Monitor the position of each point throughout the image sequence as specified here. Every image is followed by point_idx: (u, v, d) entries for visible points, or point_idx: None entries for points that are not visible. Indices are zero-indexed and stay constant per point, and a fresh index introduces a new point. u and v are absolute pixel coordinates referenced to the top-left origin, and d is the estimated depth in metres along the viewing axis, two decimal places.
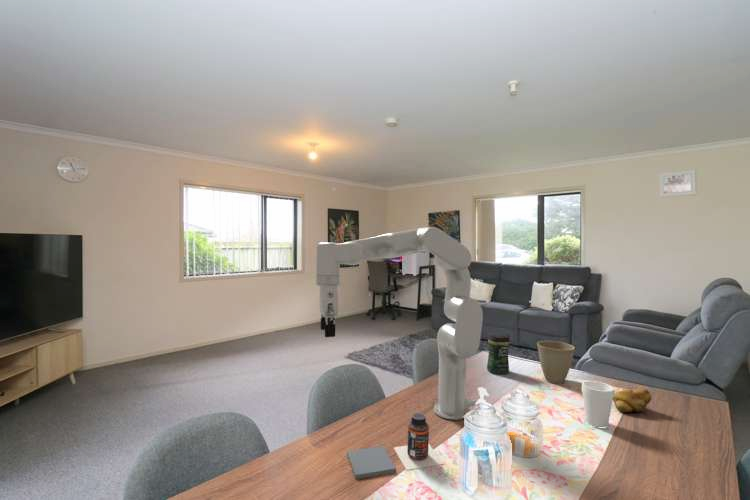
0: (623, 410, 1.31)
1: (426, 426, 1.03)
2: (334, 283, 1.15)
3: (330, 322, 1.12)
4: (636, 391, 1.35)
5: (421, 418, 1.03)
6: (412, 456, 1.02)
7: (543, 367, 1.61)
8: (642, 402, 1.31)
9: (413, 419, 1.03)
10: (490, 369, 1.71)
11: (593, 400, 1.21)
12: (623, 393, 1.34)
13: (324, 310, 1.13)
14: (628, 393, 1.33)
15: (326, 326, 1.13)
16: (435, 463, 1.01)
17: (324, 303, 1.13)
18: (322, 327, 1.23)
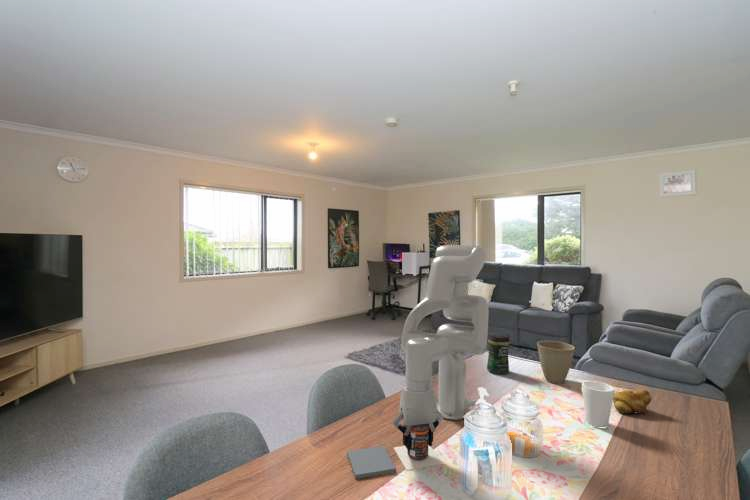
0: (622, 410, 1.31)
1: (426, 426, 1.03)
2: None
3: None
4: (636, 392, 1.34)
5: None
6: (412, 456, 1.02)
7: (543, 367, 1.61)
8: (641, 403, 1.31)
9: None
10: (490, 369, 1.71)
11: (593, 400, 1.21)
12: (622, 393, 1.33)
13: (436, 414, 1.04)
14: (627, 394, 1.33)
15: None
16: (435, 463, 1.01)
17: (436, 406, 1.04)
18: None
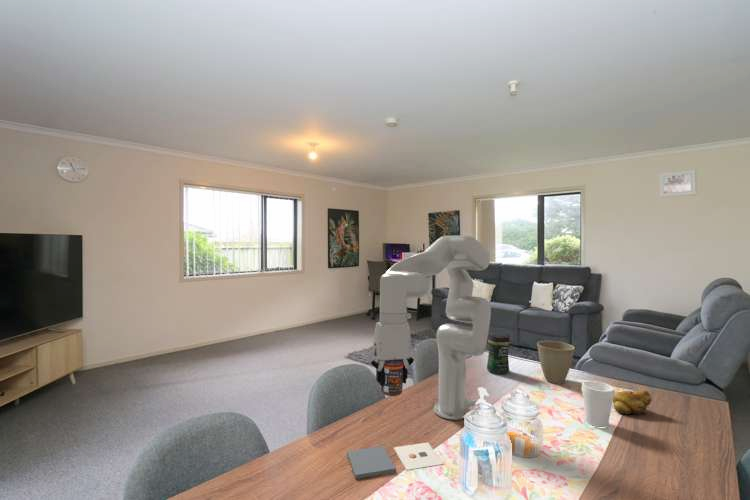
0: (621, 411, 1.30)
1: (400, 362, 1.00)
2: None
3: None
4: (636, 392, 1.33)
5: None
6: (385, 392, 0.99)
7: (543, 367, 1.61)
8: (641, 404, 1.30)
9: None
10: (490, 369, 1.71)
11: (593, 400, 1.21)
12: (622, 394, 1.33)
13: (410, 350, 1.01)
14: (627, 394, 1.32)
15: None
16: (435, 463, 1.01)
17: (410, 342, 1.01)
18: None
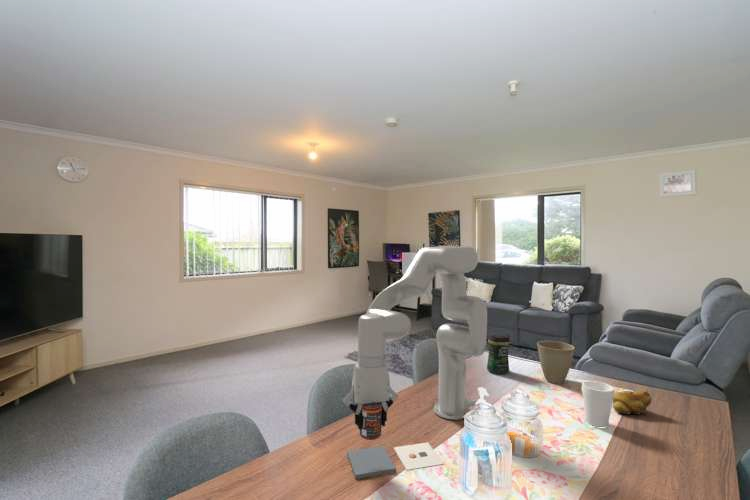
0: (621, 411, 1.30)
1: (378, 405, 0.99)
2: None
3: None
4: (636, 393, 1.33)
5: None
6: (363, 436, 0.98)
7: (543, 367, 1.61)
8: (641, 404, 1.30)
9: None
10: (490, 369, 1.71)
11: (593, 400, 1.21)
12: (621, 394, 1.33)
13: (389, 392, 1.00)
14: (627, 394, 1.32)
15: None
16: (435, 463, 1.01)
17: (389, 385, 1.00)
18: None
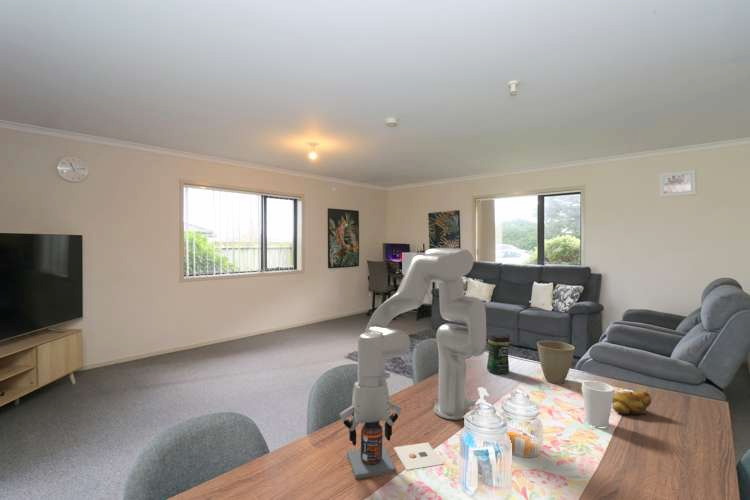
0: (620, 411, 1.30)
1: (379, 429, 0.99)
2: None
3: None
4: (636, 393, 1.33)
5: None
6: (364, 460, 0.98)
7: (543, 367, 1.61)
8: (640, 405, 1.29)
9: None
10: (490, 369, 1.71)
11: (593, 400, 1.21)
12: (621, 394, 1.32)
13: (389, 411, 1.00)
14: (626, 395, 1.32)
15: None
16: (435, 463, 1.01)
17: (389, 403, 1.00)
18: None
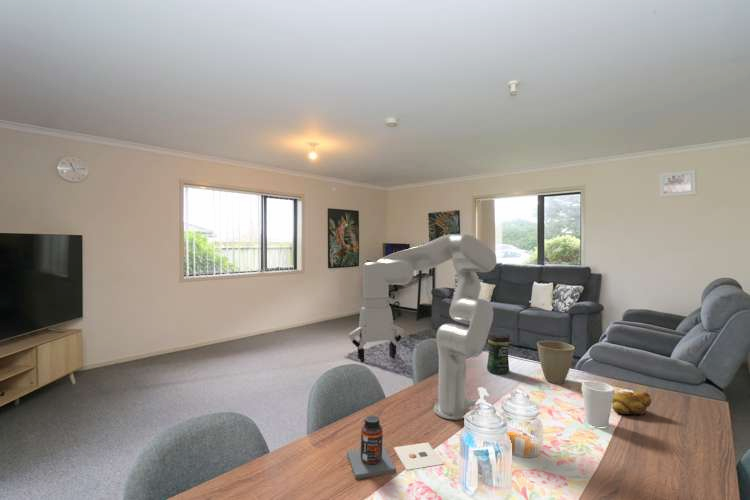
0: (619, 411, 1.30)
1: (379, 429, 0.99)
2: None
3: None
4: (636, 393, 1.32)
5: (374, 421, 0.99)
6: (364, 460, 0.98)
7: (543, 367, 1.61)
8: (640, 405, 1.29)
9: (366, 422, 0.99)
10: (490, 369, 1.71)
11: (593, 400, 1.21)
12: (621, 395, 1.32)
13: (393, 331, 1.10)
14: (626, 395, 1.32)
15: None
16: (435, 463, 1.01)
17: (393, 324, 1.10)
18: None
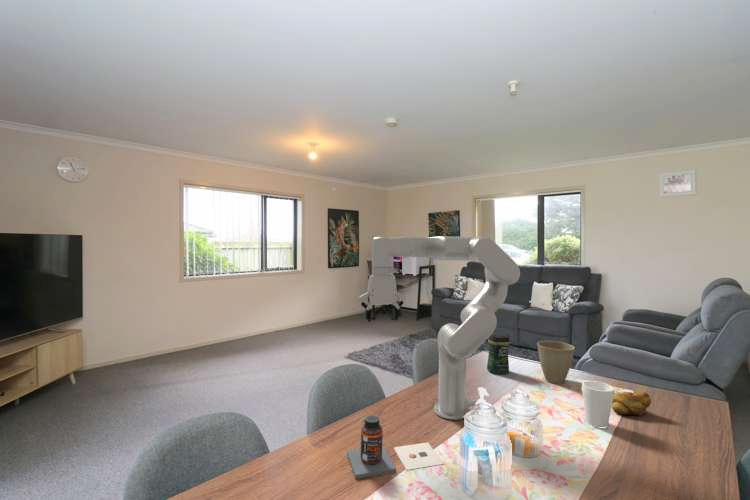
0: (619, 411, 1.30)
1: (379, 429, 0.99)
2: None
3: None
4: (635, 394, 1.32)
5: (374, 421, 0.99)
6: (364, 460, 0.98)
7: (543, 367, 1.61)
8: (639, 405, 1.29)
9: (366, 422, 0.99)
10: (490, 369, 1.71)
11: (593, 400, 1.21)
12: (620, 395, 1.32)
13: (396, 297, 1.28)
14: (625, 395, 1.31)
15: None
16: (435, 463, 1.01)
17: (396, 291, 1.28)
18: None
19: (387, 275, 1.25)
